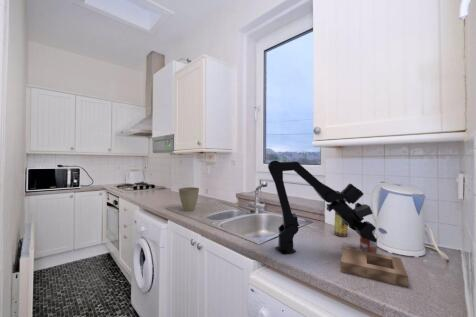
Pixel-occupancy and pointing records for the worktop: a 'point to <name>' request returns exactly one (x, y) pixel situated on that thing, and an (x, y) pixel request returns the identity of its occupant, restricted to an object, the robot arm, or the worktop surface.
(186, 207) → the plant pot
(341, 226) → the sauce bottle
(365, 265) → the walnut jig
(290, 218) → the robot arm
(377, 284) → the worktop surface
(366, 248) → the pill bottle
